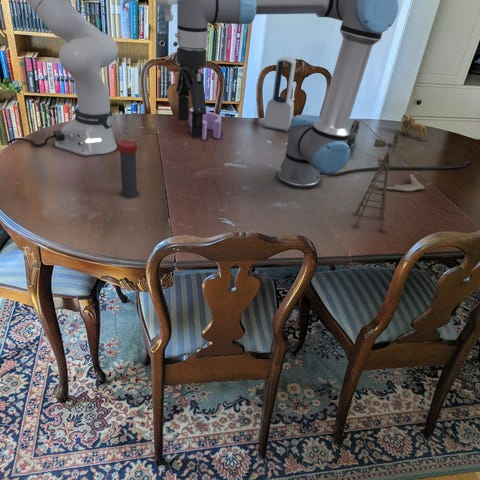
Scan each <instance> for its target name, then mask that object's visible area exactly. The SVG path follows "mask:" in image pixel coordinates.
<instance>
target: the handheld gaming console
mask: <svg viewBox="0 0 480 480" xmlns="http://www.w3.org/2000/svg"><path fill="white" fill-rule="evenodd" d="M360 123H361V122H360V120H358V119H354V120H353V122H352V124H351V127H350V129H349V132H350V135H349V138H348V141H347V145H348V146H349V149H350V154H351V153H352V151H353V148H354V145H355V144H356V141H357V136H358V133H359V129H360Z"/></svg>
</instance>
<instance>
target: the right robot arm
mask: <svg viewBox="0 0 480 480" xmlns="http://www.w3.org/2000/svg"><path fill="white" fill-rule="evenodd" d="M399 5H400V4H399V0H177V4H176V6H177V8H176V9H177V10H176V11H177V14H176V15H177V16H176V17H177V18H176V20H177V21H176V23H177V26H176V27H177V28H176V29H177V30H176V32H175V33H174V37H175V38H176V45H178V47H177V48H176V62H177V64H179V69H178V70H179V71H178V75H177V83H176V89H175V91H176V93H177V96H178V99H177V100H178V104H177V105H178V106H177V108H178V110H177V112H178V113H177V119H178V120H177V121H179V122H183V121H189V97H190V100H191V107H193V111H192V112H191V115H192V133H191V138H192V139H200V138H201V139H202V126H203V114H206V108H207V105H206V93H205V83H204V82H205V81H204V80H205V79H204V77H205V75H204V73H203V72H202V73H201V72H200V67H203V66H205V65H206V64H207V49H206V48H207V47H208V34H209V33H208V29H209V27H208V26H209V25H208V24H230V25H239V26H241V25H250V24H252V23H253V22H254V20H255V19H256V18H255V17H256V15H311V14H313V15H316V17H318V18H330V19H333V20H338V21H341V26H340V29H339V32H340V34H341V36H342V41H341V45H340V49H339V51H338V55H337V59H336V62H335V66H334V68H333V73H332V76H331V79H330V83H329V86H328V90H327V93H326V96H325V100H324V103H323V107H322V111H321V114H320V115H314V114H297V115H293V118H292V119H291V123H290V126H289V127H290V129H289V130H288V137H287V143H286V149H285V150H286V151H285V156H284V158H283V161H282V162H281V165H280V166H279V168H278V170H277V175H276V176H277V180H278V182H280V183H281V184H283V185H285V186H288V187H291V188H295V189H312V188H315V187H318V185H320V180H321V176H330V177H338V176H342V175H346V174H350V173H356V172H365V171H378V167H379V166H376V167H375V166H374V167H364V168H356V169H355V168H354V169H349V170H344V171H341V172H339V170H342V169H343V168H344V167H346V165H347V164H348V162H349V161H350V158H351V153H350V149H349V146H348V145H347V141H348V138H349V135H350V132H349V131H350V129H349V128H348V125H349V121H350V118H351V116H352V112H353V109H354V106H355V102H356V100H357V96H358V94H359V90H360V87H361V84H362V81H363V78H364V74H365V71H366V68H367V65H368V62H369V58H370V56H371V52H372V50H373V47H374V45H375V44H377V43H378V42H380V41H381V39H382V37H383V33H385V32H386V31H388V30H389V28H390V27H392V26H393V25H394V23H395V22H396V19H397V17H398V14H399V9H400V7H399ZM469 162H470V161H469V160H468V161H465V162H464V163H463V164H467V163H468V164H467V165H469V166H472V162H471V163H469ZM463 164H462V165H463ZM454 166H456V167H454ZM464 167H466V165H463V166H458V165H446V166H443V165H442V166H396V167H393V166H392V167H390V166H388V170H446V169H460V168H464ZM383 169H386V166H385V167H383Z"/></svg>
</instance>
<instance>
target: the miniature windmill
mask: <svg viewBox="0 0 480 480" xmlns="http://www.w3.org/2000/svg"><path fill="white" fill-rule="evenodd" d="M399 135H400V130H399V129H397V130H395V133H394V136H393V140H392V143H391V142H388V143H387V142H386V141H385V140H381V139H378V138H375V141H374V145H373V147H374V148H385V147H386V146H387V147H388V150H387V152H386V153H385V155H384V157H383V159H382V158H378V159H377V162H378V165H379V166H377V167H378V170H376V172H375V173H374V176H373V178H372V179H371V181H370V184H369V185H368V186H367V190H366V192H364V196H363V197H362V198H361V202H360V203H359V204H358V207H357V209H356V211H355V213H354V215H358V217H357V218H358V219H357V221H356V223H355V227H358V225H359V224H360V221H361V219H362V218H367V219H374V220H378V221H379V220H380V221H381V222H380V223H381V225H380V231H381V232H383V231H384V221H386V219H385V209H386V204H387V199H386V198H387V190H388V189H387V187H388V176H389V173H390V172H389V169H388V167H397V164H396V161H394V160H393V158H394V155H395V154H396V153H397V152H396V149H397V148H398V144H399V139H400V136H399ZM383 167H386V169H383ZM383 171H385V172H383ZM381 175H384V180H379V178H380V176H381ZM377 182H379V183H383V186H384V187H380V186H381V185H380V186H378V185H376V184H377ZM375 188H377V189H379V188H383V189H382V193H380V192H374V190H375ZM372 194H373V195H380V196H381V200H376V199H375V200H374V199H370V198H371V196H372ZM367 195H368V196H367ZM364 201H365V203H364ZM369 202H373V203H379V204H380V207H379V206H373V205H368V203H369ZM361 207H362V210H361ZM366 208H372V209H378V210H380V211H379V217H374V216H369V215H363V214H364V213H365V210H366Z"/></svg>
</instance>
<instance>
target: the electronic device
mask: <svg viewBox="0 0 480 480" xmlns="http://www.w3.org/2000/svg"><path fill="white" fill-rule="evenodd" d="M284 63H285V64H288V65H289V68H288V74H287V82H286V88H285V95H284V97H281V96H280V89H281V82H282V74H283V69H284V68H283V67H284ZM296 65H297V59H295V58H293V57H291V56H290V57H289V56H283V57H281V58H279V59H278V60H276V67H275V68H276V70H275V75H274V76H275V77H274V84H273V91H272V97H271V99H270V100H268V101H267V104H266V109H265V112H264V116H263V119H262V120H263V121H262V125H263V126H264V128H268V129H272V130H278V131H283V132H289V129H290V127H289V126H290V123H291V119H292V118H293V117H294V111H295V110H294V109H295V102H294V101H293V99H291V98H292V92H293V85H294V79H295V74H296V73H295V72H296Z"/></svg>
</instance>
